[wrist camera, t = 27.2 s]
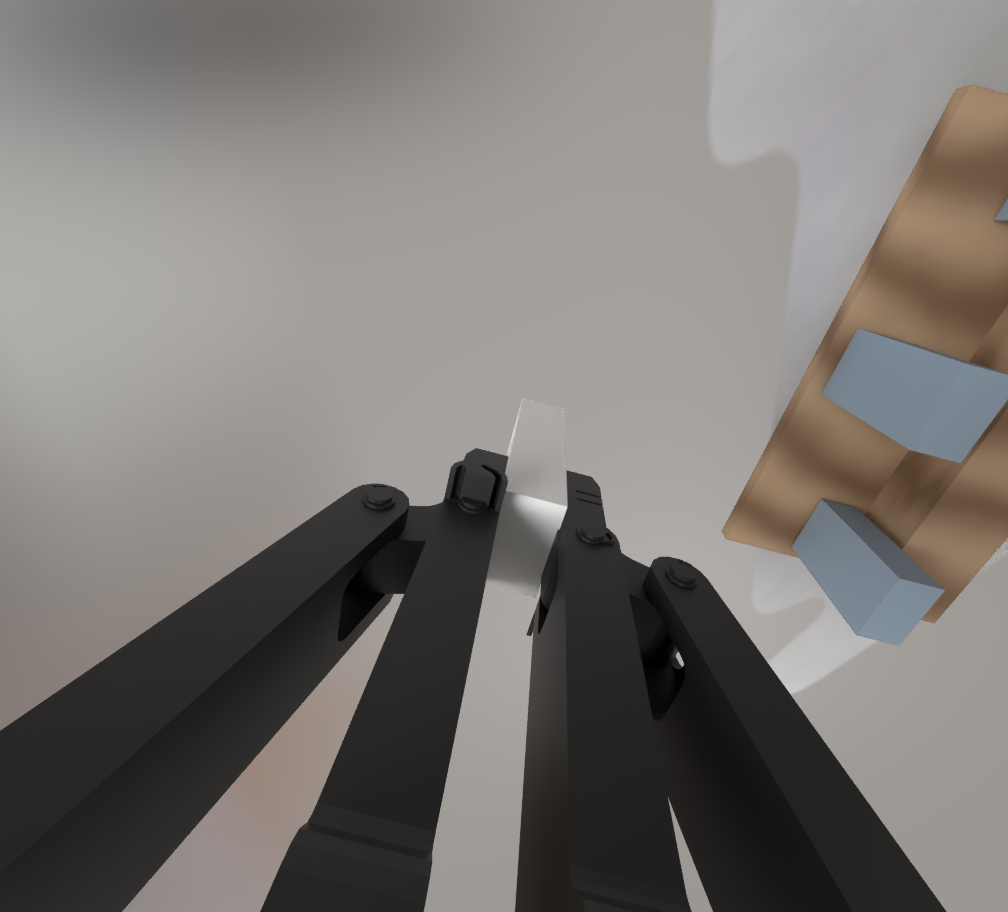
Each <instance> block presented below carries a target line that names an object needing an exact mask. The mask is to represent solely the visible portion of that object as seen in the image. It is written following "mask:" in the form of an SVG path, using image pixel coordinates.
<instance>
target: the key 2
mask: <svg viewBox="0 0 1008 912" xmlns="http://www.w3.org/2000/svg"><path fill="white" fill-rule="evenodd" d="M995 221H999V222H1002V223H1006V224H1008V199H1007V200H1006V202H1005V204H1004V205H1003V207H1002V208H1001V210H1000V212H999V213H998V215H997V216H996V218H995Z"/></svg>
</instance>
